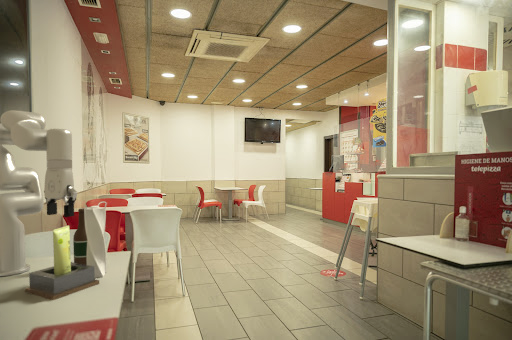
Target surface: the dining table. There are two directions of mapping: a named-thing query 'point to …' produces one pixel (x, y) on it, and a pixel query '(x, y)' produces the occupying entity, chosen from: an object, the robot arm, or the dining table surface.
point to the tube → (61, 250)
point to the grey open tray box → (61, 281)
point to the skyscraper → (96, 238)
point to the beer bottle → (80, 240)
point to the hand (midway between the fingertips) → (60, 215)
